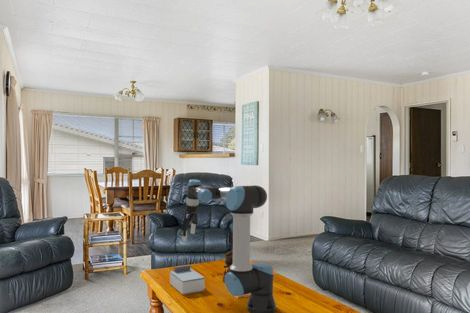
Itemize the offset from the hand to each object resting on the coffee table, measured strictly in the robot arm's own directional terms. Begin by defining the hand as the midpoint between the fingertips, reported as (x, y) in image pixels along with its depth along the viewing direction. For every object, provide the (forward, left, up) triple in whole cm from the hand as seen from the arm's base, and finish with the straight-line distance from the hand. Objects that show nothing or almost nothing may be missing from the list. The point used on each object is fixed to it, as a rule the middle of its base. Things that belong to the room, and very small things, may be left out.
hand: (188, 237), depth 226 cm
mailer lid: (-7, -2, -22) cm, 23 cm away
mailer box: (-7, -2, -29) cm, 30 cm away
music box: (+12, -26, -29) cm, 41 cm away
